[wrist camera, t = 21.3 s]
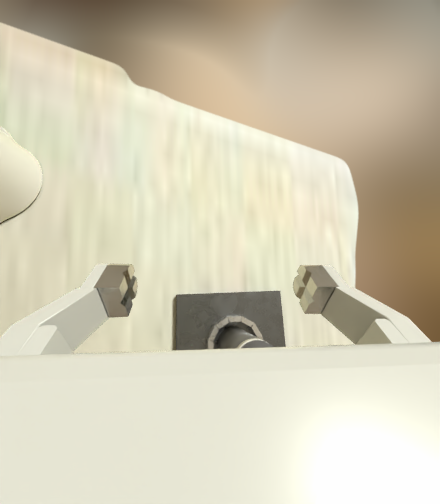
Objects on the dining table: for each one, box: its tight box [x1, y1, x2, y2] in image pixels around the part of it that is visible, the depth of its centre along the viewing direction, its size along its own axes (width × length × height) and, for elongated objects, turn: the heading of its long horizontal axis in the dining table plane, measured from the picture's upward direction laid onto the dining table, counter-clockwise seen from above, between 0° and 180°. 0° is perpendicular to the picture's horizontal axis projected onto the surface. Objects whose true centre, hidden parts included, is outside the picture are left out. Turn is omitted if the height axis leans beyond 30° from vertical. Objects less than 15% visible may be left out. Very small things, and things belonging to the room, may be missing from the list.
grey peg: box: [218, 326, 273, 349], centre depth 27 cm, size 5×5×12 cm
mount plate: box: [176, 291, 286, 350], centre depth 32 cm, size 18×16×3 cm
